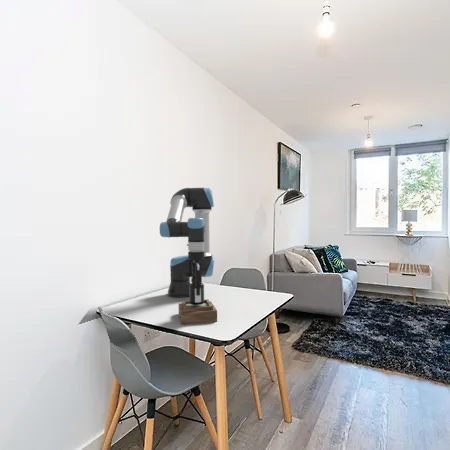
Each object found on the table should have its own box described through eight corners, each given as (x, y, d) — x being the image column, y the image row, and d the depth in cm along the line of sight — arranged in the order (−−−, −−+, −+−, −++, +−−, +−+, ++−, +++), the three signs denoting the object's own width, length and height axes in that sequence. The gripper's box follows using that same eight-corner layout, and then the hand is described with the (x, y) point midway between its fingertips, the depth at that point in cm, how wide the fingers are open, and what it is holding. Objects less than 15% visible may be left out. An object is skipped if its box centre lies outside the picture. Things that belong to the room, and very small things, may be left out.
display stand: (178, 313, 154) (178, 300, 154) (211, 311, 157) (210, 298, 157) (181, 324, 138) (181, 309, 138) (217, 321, 142) (217, 307, 142)
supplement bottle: (200, 305, 143) (199, 279, 143) (186, 304, 146) (186, 278, 146) (206, 302, 150) (206, 276, 149) (193, 300, 152) (193, 275, 152)
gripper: (186, 249, 156) (186, 295, 157) (190, 253, 137) (191, 306, 137) (201, 248, 158) (201, 294, 158) (207, 252, 138) (208, 305, 139)
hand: (196, 299), depth 148 cm, fingers closed on supplement bottle, 7 cm apart
